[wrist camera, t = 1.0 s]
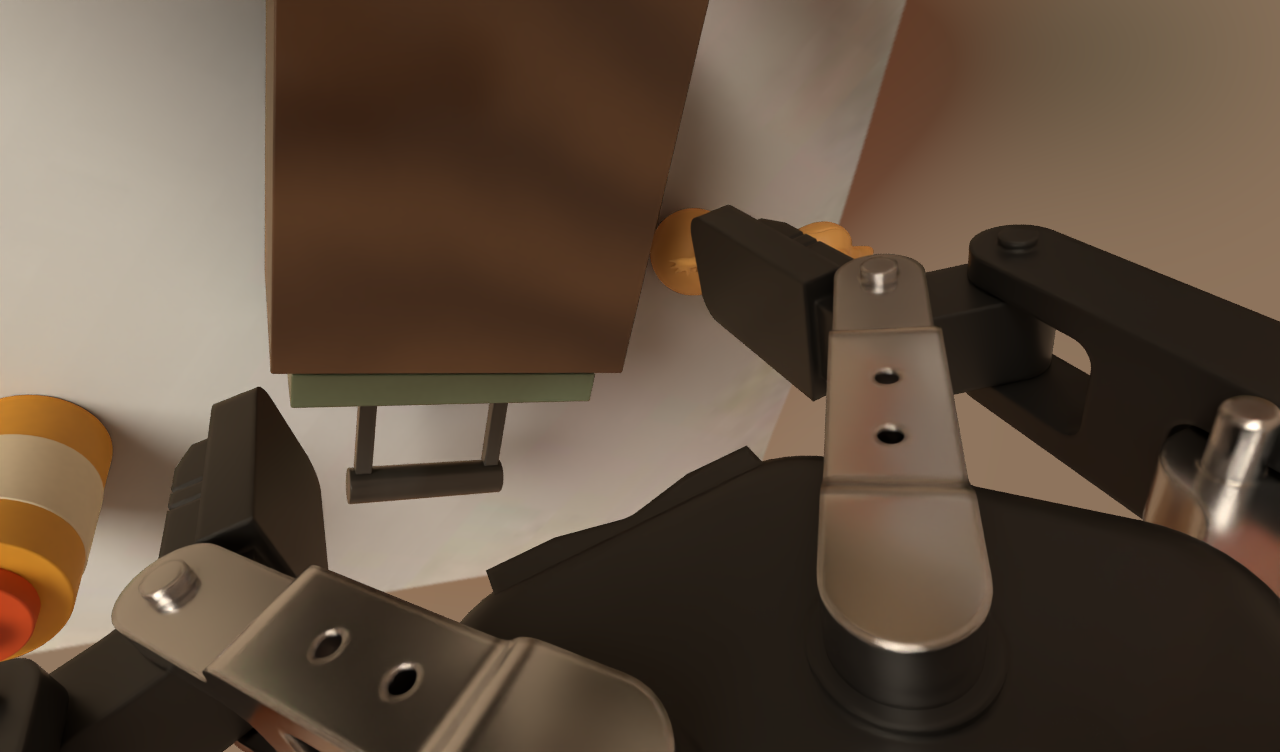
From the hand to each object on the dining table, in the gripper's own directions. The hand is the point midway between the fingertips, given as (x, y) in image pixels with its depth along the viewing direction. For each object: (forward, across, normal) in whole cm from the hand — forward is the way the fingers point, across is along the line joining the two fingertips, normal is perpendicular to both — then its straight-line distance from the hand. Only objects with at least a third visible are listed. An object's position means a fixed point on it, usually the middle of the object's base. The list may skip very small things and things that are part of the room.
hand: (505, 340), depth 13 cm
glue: (+18, +16, +7) cm, 25 cm away
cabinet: (+18, -2, 0) cm, 18 cm away
